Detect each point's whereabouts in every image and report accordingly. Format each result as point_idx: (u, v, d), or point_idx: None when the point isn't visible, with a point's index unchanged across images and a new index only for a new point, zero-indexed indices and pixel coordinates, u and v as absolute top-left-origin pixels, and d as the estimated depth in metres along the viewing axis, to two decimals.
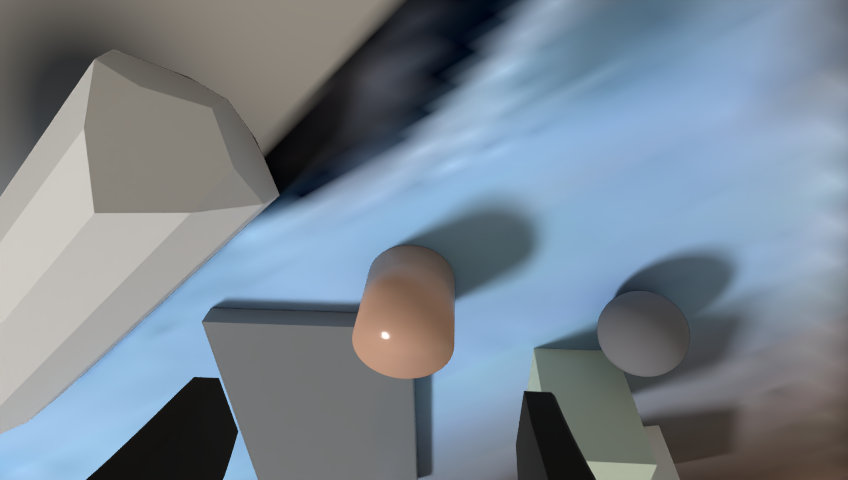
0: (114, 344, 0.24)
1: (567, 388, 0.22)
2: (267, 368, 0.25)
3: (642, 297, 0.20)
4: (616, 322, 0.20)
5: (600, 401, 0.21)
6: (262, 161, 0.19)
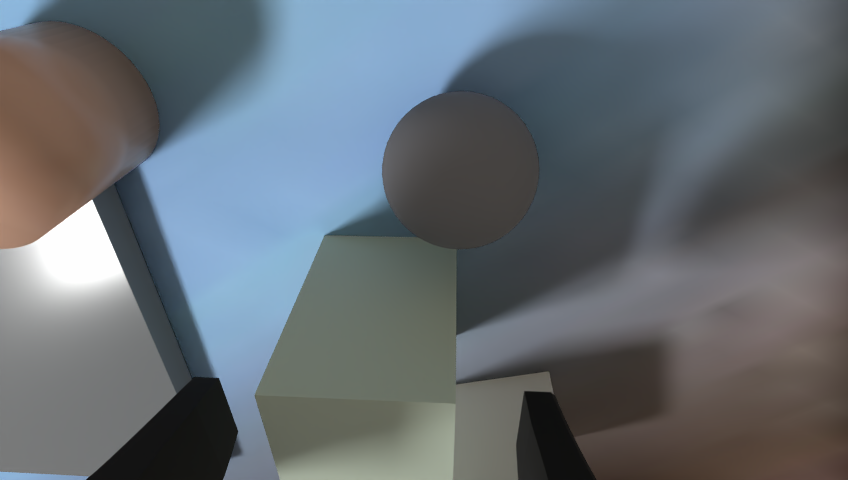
0: None
1: (348, 286, 0.13)
2: None
3: (447, 93, 0.10)
4: (395, 138, 0.10)
5: (396, 304, 0.12)
6: None
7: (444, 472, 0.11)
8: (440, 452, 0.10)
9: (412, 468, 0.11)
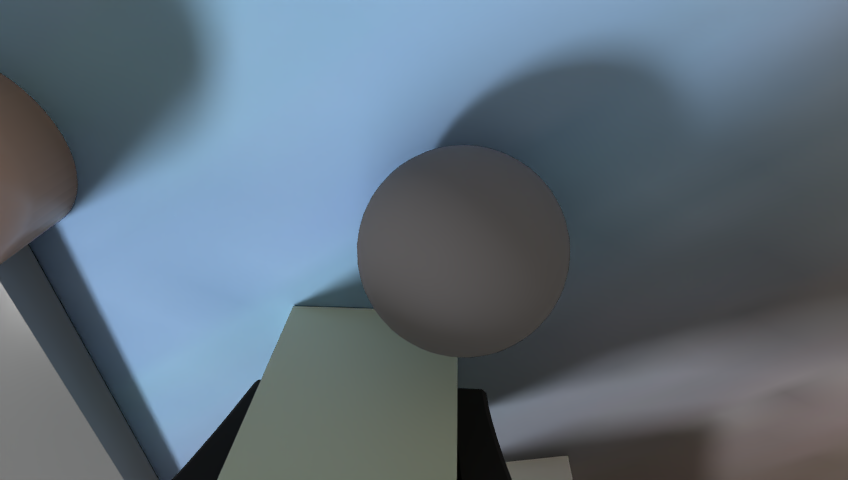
0: None
1: (317, 389, 0.10)
2: None
3: (445, 149, 0.08)
4: (373, 213, 0.07)
5: (377, 420, 0.09)
6: None
7: None
8: None
9: None
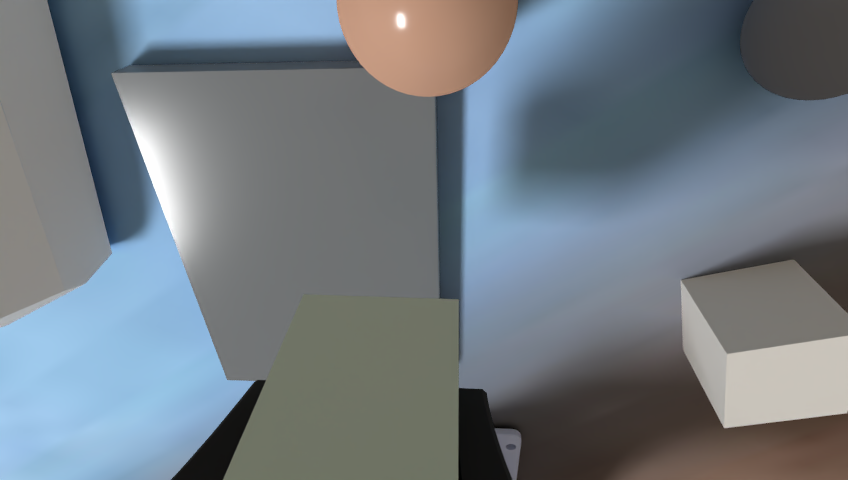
0: (40, 80, 0.15)
1: (327, 368, 0.10)
2: (218, 164, 0.16)
3: None
4: None
5: (384, 395, 0.10)
6: None
7: None
8: None
9: None
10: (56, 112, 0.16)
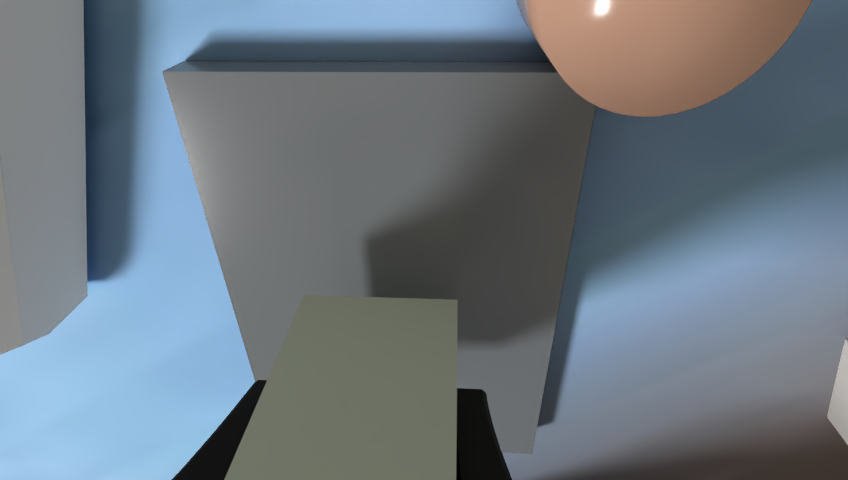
0: (52, 103, 0.11)
1: (327, 368, 0.10)
2: (292, 192, 0.13)
3: None
4: None
5: (383, 395, 0.10)
6: None
7: None
8: None
9: None
10: (62, 140, 0.12)
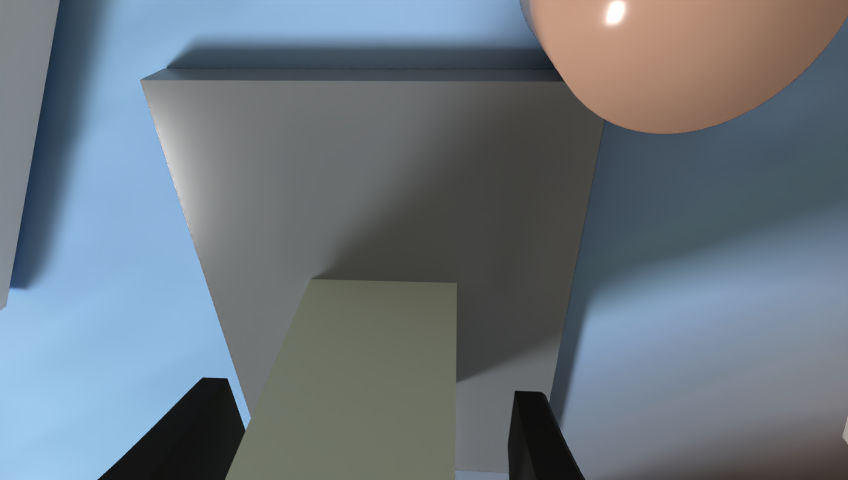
0: (1, 131, 0.11)
1: (334, 346, 0.11)
2: (281, 207, 0.12)
3: None
4: None
5: (387, 370, 0.10)
6: None
7: None
8: None
9: None
10: (6, 164, 0.12)
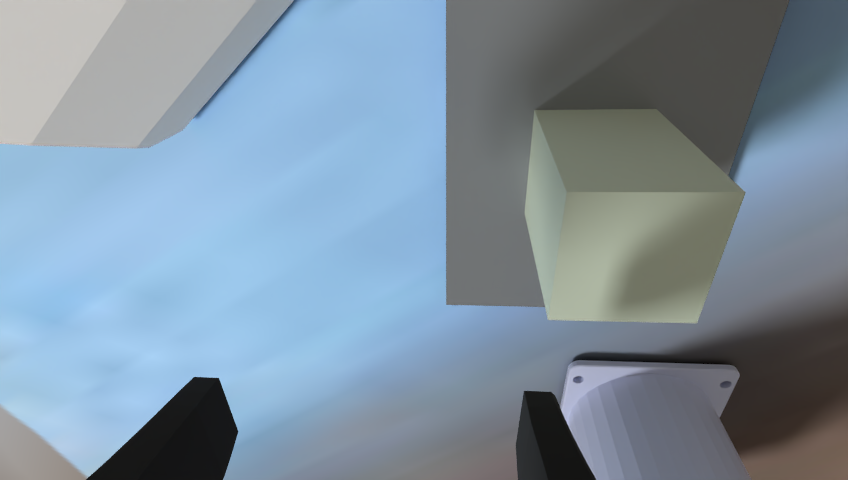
0: None
1: (586, 136, 0.14)
2: (528, 39, 0.15)
3: None
4: None
5: (639, 144, 0.14)
6: None
7: (707, 274, 0.12)
8: (712, 249, 0.12)
9: (679, 270, 0.12)
10: (274, 11, 0.15)
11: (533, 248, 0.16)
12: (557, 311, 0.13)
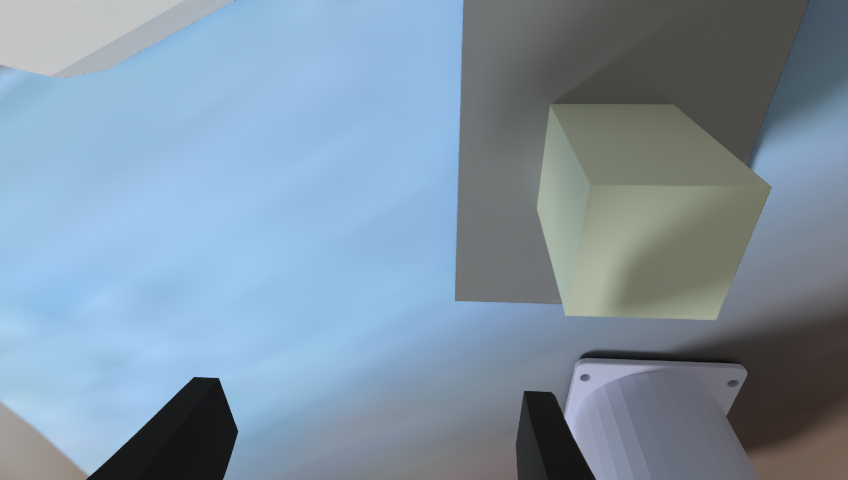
0: None
1: (605, 130, 0.14)
2: (546, 32, 0.15)
3: None
4: None
5: (659, 138, 0.13)
6: None
7: (729, 270, 0.12)
8: (735, 244, 0.12)
9: (700, 266, 0.12)
10: None
11: (547, 243, 0.16)
12: (575, 306, 0.13)
